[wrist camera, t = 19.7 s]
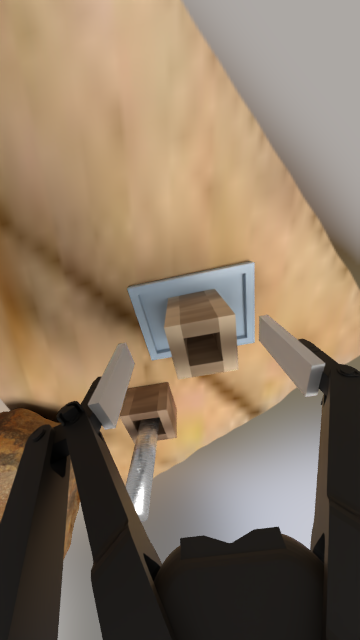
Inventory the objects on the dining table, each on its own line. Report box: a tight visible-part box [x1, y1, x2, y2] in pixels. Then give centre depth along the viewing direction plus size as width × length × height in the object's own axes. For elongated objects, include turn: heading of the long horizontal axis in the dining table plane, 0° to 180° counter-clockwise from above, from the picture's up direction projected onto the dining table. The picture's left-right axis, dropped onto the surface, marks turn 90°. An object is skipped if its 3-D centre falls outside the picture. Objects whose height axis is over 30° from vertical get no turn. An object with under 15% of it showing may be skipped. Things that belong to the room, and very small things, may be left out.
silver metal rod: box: [126, 417, 160, 522], centre depth 23 cm, size 3×3×14 cm
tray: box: [127, 261, 255, 360], centre depth 22 cm, size 11×15×1 cm
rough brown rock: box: [0, 408, 80, 559], centre depth 26 cm, size 23×17×15 cm
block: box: [164, 289, 239, 379], centre depth 19 cm, size 6×6×8 cm
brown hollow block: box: [120, 382, 177, 443], centre depth 28 cm, size 7×7×5 cm
